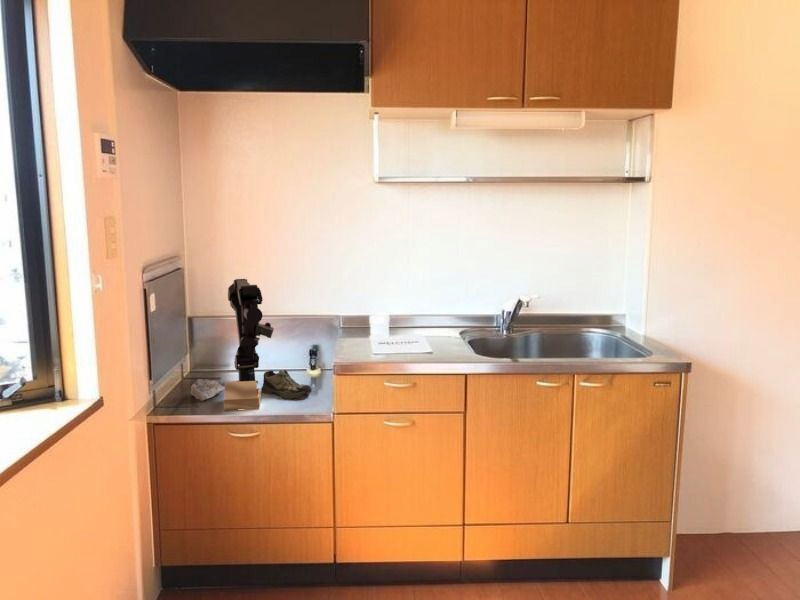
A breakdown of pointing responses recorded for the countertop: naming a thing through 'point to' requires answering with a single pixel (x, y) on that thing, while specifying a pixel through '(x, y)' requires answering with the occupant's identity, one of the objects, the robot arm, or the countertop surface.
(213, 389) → the rock
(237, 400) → the carton
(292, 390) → the hiking shoe
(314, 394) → the countertop surface
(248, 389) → the flap
